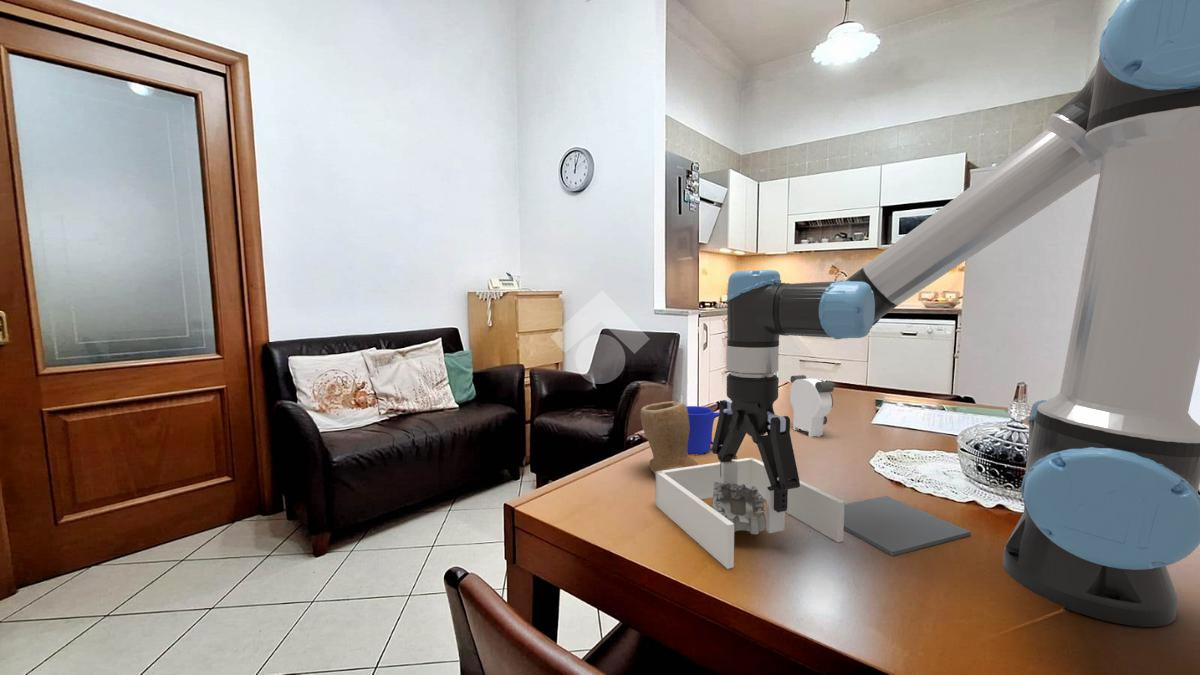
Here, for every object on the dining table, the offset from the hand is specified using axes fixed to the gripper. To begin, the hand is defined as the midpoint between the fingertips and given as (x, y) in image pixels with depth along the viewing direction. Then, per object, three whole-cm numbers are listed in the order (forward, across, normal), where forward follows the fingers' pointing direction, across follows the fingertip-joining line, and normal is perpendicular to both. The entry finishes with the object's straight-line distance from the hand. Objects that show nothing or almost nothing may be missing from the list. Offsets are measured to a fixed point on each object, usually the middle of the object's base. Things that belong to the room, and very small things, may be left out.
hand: (750, 514), depth 75 cm
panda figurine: (+2, +35, -45) cm, 57 cm away
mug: (+2, +34, -13) cm, 37 cm away
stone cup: (+2, +23, +1) cm, 23 cm away
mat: (+2, -7, -21) cm, 22 cm away
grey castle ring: (+2, 0, 0) cm, 2 cm away
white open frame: (+2, +3, 0) cm, 4 cm away
